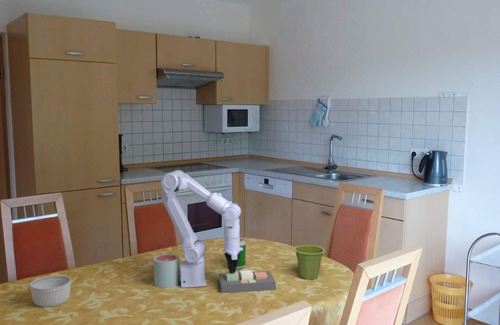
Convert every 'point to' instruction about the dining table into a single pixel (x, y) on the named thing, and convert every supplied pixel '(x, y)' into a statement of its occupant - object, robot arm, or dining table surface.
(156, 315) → the dining table surface
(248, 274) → the cream key
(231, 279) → the sage key
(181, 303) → the dining table surface
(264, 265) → the dining table surface
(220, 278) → the keypad
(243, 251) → the soda can
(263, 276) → the terracotta key
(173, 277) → the mug
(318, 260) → the plant pot
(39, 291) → the ramekin
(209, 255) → the dining table surface
